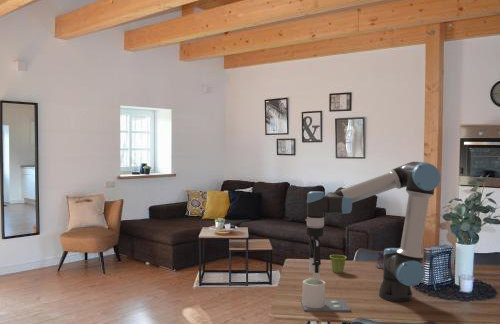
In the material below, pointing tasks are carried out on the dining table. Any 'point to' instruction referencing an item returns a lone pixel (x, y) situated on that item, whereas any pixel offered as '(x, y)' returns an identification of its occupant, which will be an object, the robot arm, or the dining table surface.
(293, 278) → the dining table surface
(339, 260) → the plant pot
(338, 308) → the tube stand
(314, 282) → the sage ball
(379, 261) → the geode
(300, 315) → the dining table surface
